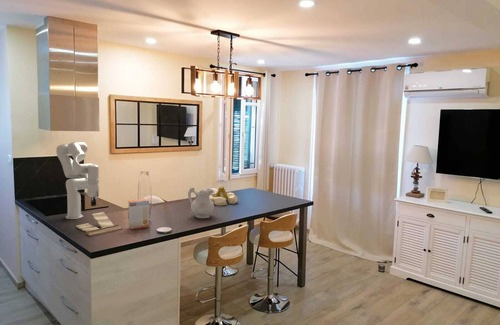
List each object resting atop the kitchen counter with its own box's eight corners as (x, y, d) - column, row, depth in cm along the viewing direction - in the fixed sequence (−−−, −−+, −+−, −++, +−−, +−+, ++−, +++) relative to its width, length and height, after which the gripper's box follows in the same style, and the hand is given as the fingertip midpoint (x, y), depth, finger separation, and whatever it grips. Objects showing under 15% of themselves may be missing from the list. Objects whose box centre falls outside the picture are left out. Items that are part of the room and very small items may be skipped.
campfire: (216, 207, 344) (216, 190, 342) (195, 200, 369) (196, 184, 367) (244, 203, 368) (244, 186, 366) (223, 196, 393) (223, 181, 390)
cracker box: (147, 225, 281) (147, 198, 279) (149, 227, 276) (149, 200, 273) (128, 227, 274) (128, 200, 272) (130, 229, 269) (130, 201, 266)
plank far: (91, 215, 275) (92, 213, 275) (103, 213, 282) (103, 211, 282) (102, 230, 266) (103, 228, 266) (114, 227, 273) (114, 226, 272)
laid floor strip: (85, 234, 255) (85, 231, 255) (117, 227, 274) (117, 224, 274) (90, 236, 251) (90, 234, 251) (122, 229, 269) (122, 226, 269)
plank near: (76, 227, 269) (76, 225, 269) (88, 224, 276) (88, 223, 276) (87, 233, 258) (87, 231, 257) (100, 230, 264) (100, 228, 264)
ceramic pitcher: (191, 221, 299) (192, 192, 294) (185, 213, 316) (186, 185, 312) (216, 219, 308) (218, 191, 304) (208, 212, 326) (210, 185, 321)
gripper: (83, 180, 274) (84, 204, 277) (92, 183, 264) (93, 208, 267) (93, 179, 280) (94, 203, 282) (102, 182, 270) (103, 206, 272)
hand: (93, 205), depth 274 cm, fingers closed
